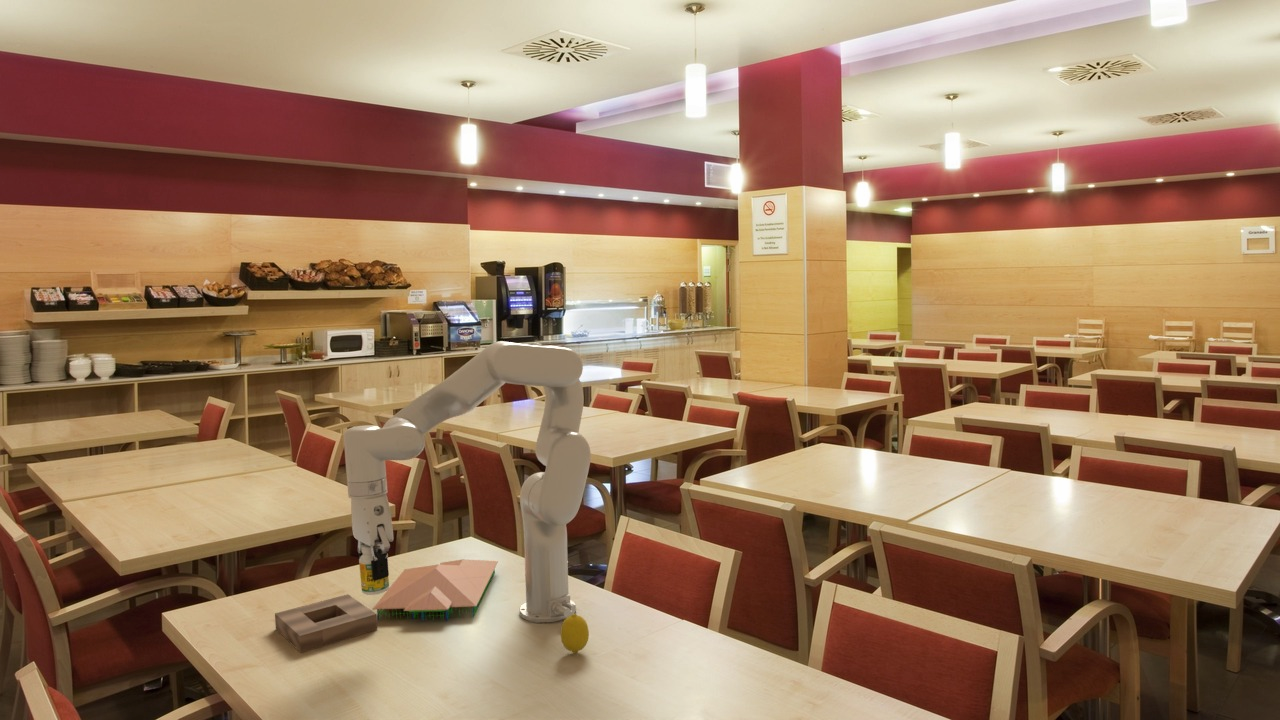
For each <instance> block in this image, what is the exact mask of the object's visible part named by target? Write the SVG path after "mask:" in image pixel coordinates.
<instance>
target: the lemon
mask: <svg viewBox="0 0 1280 720" xmlns="http://www.w3.org/2000/svg"><path fill="white" fill-rule="evenodd" d="M589 633H590V631H589V627H588V623H587V621H586V620H585V619H584V617H582V616H581V615H579V614H578V615H577V614H576V613H574V614H572V615H571V616H569V617H567V618H566V619H564V620H563V622H562V625H561V628H560V640H561V643H562V645H563V648H564V649H566V650H568V651H570V652H572V654H577V653H578V652H579V651H582V650H583V649H584V648H585V647H586V646H587V644H588V641H589V635H590V634H589Z"/></svg>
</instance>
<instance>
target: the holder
mask: <svg viewBox="0 0 1280 720" xmlns="http://www.w3.org/2000/svg"><path fill="white" fill-rule="evenodd" d="M274 621H275V622H274V623H275V630H276V629H277V630H278V631H279V632H280V633H281V634H280V633H279V632H278V631H277V630H276V631H277V632H278V633H279V634H280V635H281V636H283V638H285V640H287V641H288V642H289V643H290V642H291V643H292V644H291V643H290V644H291V645H292V646H293V645H294V646H295V647H296V648H297V649H296V648H295V647H294V646H293V647H294V648H295V649H296V650H298V652H300V653H305V652H308V651H311V650H314V648H315V649H318V648H321V647H325V646H329V645H331V644H334V643H338V642H340V641H343V640H344V641H345V640H348V639H350V638H351V639H352V638H354V637H358V636H362V635H365V634H367V633H371V632H374V631H377V630H378V613H377V612H374V610H373V609H372V610H371V608H368V607H367V606H365V605H364V604H363V603H361V602H360V601H358V600H357V599H356V598H354V596H353V597H352V596H351V595H350V594H349V593H348V594H344V595H340V596H336V597H332V598H329V599H328V598H327V599H324V600H321V601H318V602H312V603H310V604H306V605H305V604H304V605H302V606H299V607H295V608H290V609H286V610H283V611H279V612H276V613H275V612H274ZM324 645H325V646H324ZM317 647H318V648H317ZM304 651H305V652H304Z"/></svg>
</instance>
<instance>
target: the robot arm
mask: <svg viewBox="0 0 1280 720" xmlns="http://www.w3.org/2000/svg"><path fill="white" fill-rule="evenodd" d="M583 369H584V365H583V361H582V358H581V357H580V355H579V354H578V353H577V352H576V351H575V350H573V349H571V348H568V347H563V346H557V345H535V344H533V345H531V344H523V343H517V342H511V341H510V342H509V341H505V340H504V341H503V340H500V341H495V342H493V343H491V344H489V345H488V346H485V348H484V349H482V350H481V351H480V352H479V353H477V354H476V355H475V356H473V357H472V358H471V359H469V361H467V362H466V363H465V364H463V365H462V366H461V367H460V368H458V369H457V370H456V371H454V372H453V373H452V374H451V375H449V376H448V377H446V378H445V379H444V380H443V381H441V382H439V383H438V384H436V385H434V386H433V387H431V389H429V390H427V391H425V392H424V393H423V394H421V395H419V396H418V397H416V398H415V399H414V400H412V401H411V402H409V403H408V404H406V406H404V407H403V408H401V409H400V410H399V411H398V412H396V413H395V414H394V415H393V416H391V417H390V418H389V419H388V420H387V421H386V422H385V423H384V425H383V426H382V427H379V426H378V425H374V424H373V425H372V424H371V425H358V426H352V427H350V428H348V429H346V430H345V432H344V433H343V446H344V447H343V448H344V458H345V459H344V460H345V472H346V485H347V496H348V498H349V499H350V512H351V513H350V515H351V528H352V529H351V530H352V535H353V537H354V538H355V540H356V543H357V552H358V560H359V559H360V557H361V556H362V555H363V553H362V549H361V546H362V545H364V544H366V545H368V546H370V548H371V553H372V558H373V560H372V561H371V568H372V579H373V580H378V579H382V578H385V577H388V578H389V575H390V574H389V560H388V559H389V554H388V553H389V550H390V548H391V544H390V543H392V542H394V530H393V529H394V527H393V523H392V522H393V521H392V514H391V507H390V502H389V498H388V496H387V494H388V492H389V491H388V481H387V480H388V479H387V468H386V466H387V465H386V461H408V460H412V459H414V458H417V457H418V456H420V454H421V453H422V452H423V451H424V450H425V449H424V448H425V446H426V438H425V435H426V434H428V432H429V431H431V430H433V428H435V427H437V426H438V425H441V424H442V423H443V422H445V421H447V420H450V419H453V418H455V417H460V416H463V415H465V414H467V413H470V412H472V411H473V410H474V409H476V408H477V407H478V406H479V405H480V404H482V402H484V401H485V400H486V399H488V398H489V397H490V396H492V395H493V393H495V392H496V391H497V390H499V389H500V388H501V387H502V386H504V385H505V384H512V385H522V386H530V387H543V389H544V395H545V400H544V401H545V402H544V408H543V414H542V418H541V423H540V427H539V430H538V435H537V438H536V441H535V449H534V450H535V456H536V458H537V460H538V461H539V462H540V463H541V464H542V465H543V466H545V471H540V472H534V473H533V474H531V475H530V476H528V477H527V478H526V479H525V480H524V482H523V483H522V485H521V487H520V488H521V489H520V492H519V501H520V502H519V503H520V504H519V505H520V510H521V511H520V512H521V516H522V525H523V542H524V544H523V545H524V547H523V548H524V571H525V573H524V576H525V602H524V603H523V604H521V606H520V607H519V616H520V618H522V619H524V620H526V621H528V622H532V623H540V622H547V623H553V622H559V621H564V620H565V619H566V618H567V617H569V616H571V615H572V614H576V611H577V605H576V602H574V601H573V600H571V594H569V569H568V567H569V565H568V562H569V561H568V531H567V524H569V523H570V522H571V521H572V520H574V518H575V517H576V516H577V514H578V511H579V509H580V506H581V504H582V499H583V496H584V491H585V488H586V484H587V483H586V482H587V478H588V474H589V471H590V470H589V469H590V465H591V457H592V455H591V454H592V453H591V448H590V445H589V443H588V441H587V438H585V437H584V436H583V435H582V434H580V433H579V432H580V427H581V421H582V415H583V409H584V401H585V400H584V389H583V385H582V383H581V381H580V378H581V376H582V374H583ZM374 542H380V543H379V544H375V543H374ZM374 544H375V545H374ZM376 547H380V549H378V551H377V553H376V549H375V548H376Z"/></svg>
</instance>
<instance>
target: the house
mask: <svg viewBox="0 0 1280 720" xmlns="http://www.w3.org/2000/svg"><path fill="white" fill-rule="evenodd" d="M498 563H499V561H498V560H484V559H483V560H481V559H479V560H478V559H456V560H451V561H450V560H449V561H443V562H442V561H441V562H440V563H439V564H433V565H425V566H420V567H413V568H406V569H403V571H402V572H401V573H400V574H399V576H398V577H397V578H396V580H394V582H393V583H392V584H391V585H390V586H389V588H388V590H387V591H385V592H384V594H383V595H382V597H380V599H379V600H378V601H377V603H376V604H375V605H374V606H373V607H372V610H377V612H376V614H377V621H379V620H380V616H381V612H382V611H383V613H384V615H385V617H387V613H386V610H392V611H394V610H395V611H396V612H395V613H394V612H392V615H395V617H396V618H398V616H397V615H401V614H403V615H405V614H407V620H408V619H409V616H408V615H409V613H411V618H412V620H414V618H415V619H416V617H417V616H418V615H419V614H420V615H421V623H423V622H424V618H425V619H426V616H425V613H427V612H429V614H428V616H429V617H432V616H433V618H432V619H433V620H432V621H433V622H435V621H434V620H435V619H434V618H435V617H438V616H440V617H442V620H443V622H444V621H446V622H448V619H450V616H451V617H452V618H453V617H454V616H453V615H451V613H453V608H454V609H457V608H458V613H459V618H461V615H460V613H461V610H460V608H466V610H462V613H464V612H465V613H468V611H467V610H468V609H470V608H472V610H469V613H470V615H469V616H470V618H475V615H476V613H477V611H478V608H479V606H480V604H481V602H482V601H483V598H484V596H485V594H486V592H487V590H488V588H489V587H490V584H491V582H492V580H491V579H493V577H494V575H495V574H496V573H495V572H496V569H495V568H496V567H497V565H498ZM397 610H403V612H398V611H397ZM397 612H398V613H397ZM405 612H406V613H405ZM431 612H440V615H439V614H436V615H434V614H435V613H432V614H431ZM442 612H445V613H442ZM471 612H472V613H471ZM390 615H391V614H388V617H389V621H390V619H391V618H390V617H391V616H390ZM416 615H417V616H416ZM471 615H472V616H471ZM444 617H445V618H444ZM399 618H400V620H401V616H399ZM444 619H445V620H444Z"/></svg>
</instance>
